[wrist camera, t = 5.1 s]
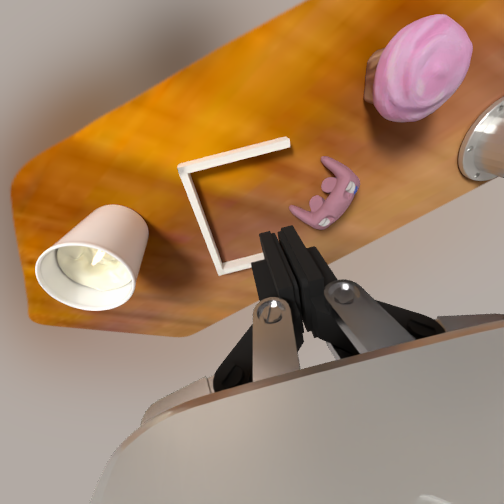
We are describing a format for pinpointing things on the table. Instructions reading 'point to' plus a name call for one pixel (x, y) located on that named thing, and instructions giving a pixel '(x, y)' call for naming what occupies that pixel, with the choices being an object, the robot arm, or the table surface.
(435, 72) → the cupcake
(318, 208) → the video game controller
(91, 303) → the candle holder
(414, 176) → the table surface
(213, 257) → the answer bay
